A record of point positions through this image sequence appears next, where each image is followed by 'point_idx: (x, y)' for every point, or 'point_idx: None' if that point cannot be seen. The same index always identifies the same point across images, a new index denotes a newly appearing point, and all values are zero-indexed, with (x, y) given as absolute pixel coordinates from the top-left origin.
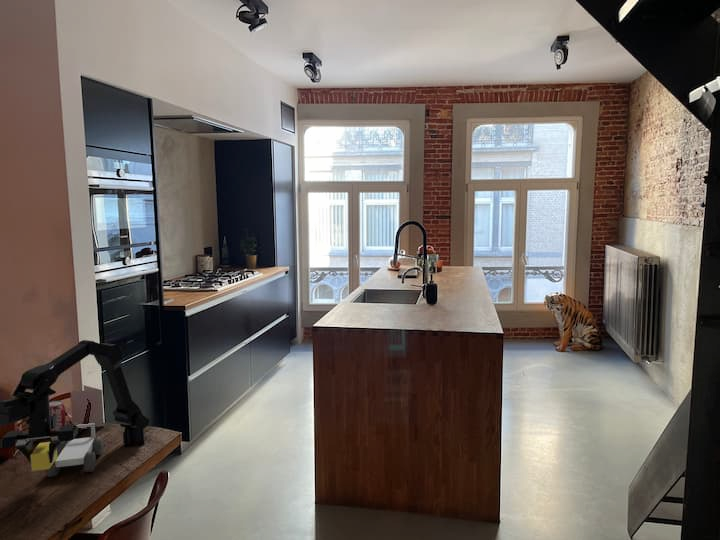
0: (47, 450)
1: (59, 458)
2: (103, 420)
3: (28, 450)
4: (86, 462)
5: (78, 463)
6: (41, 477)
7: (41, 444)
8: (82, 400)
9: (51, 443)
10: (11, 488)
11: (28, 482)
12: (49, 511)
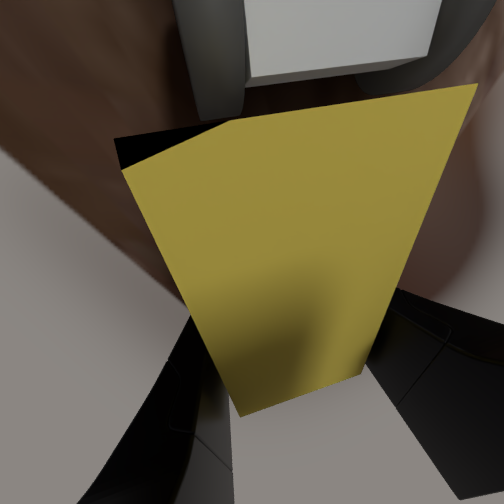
0: (354, 353)
1: (266, 11)
2: None
3: (229, 479)
4: (411, 83)
5: (367, 71)
6: (142, 72)
7: (220, 232)
8: None
9: (483, 490)
10: (71, 186)
11: (110, 130)
12: None
